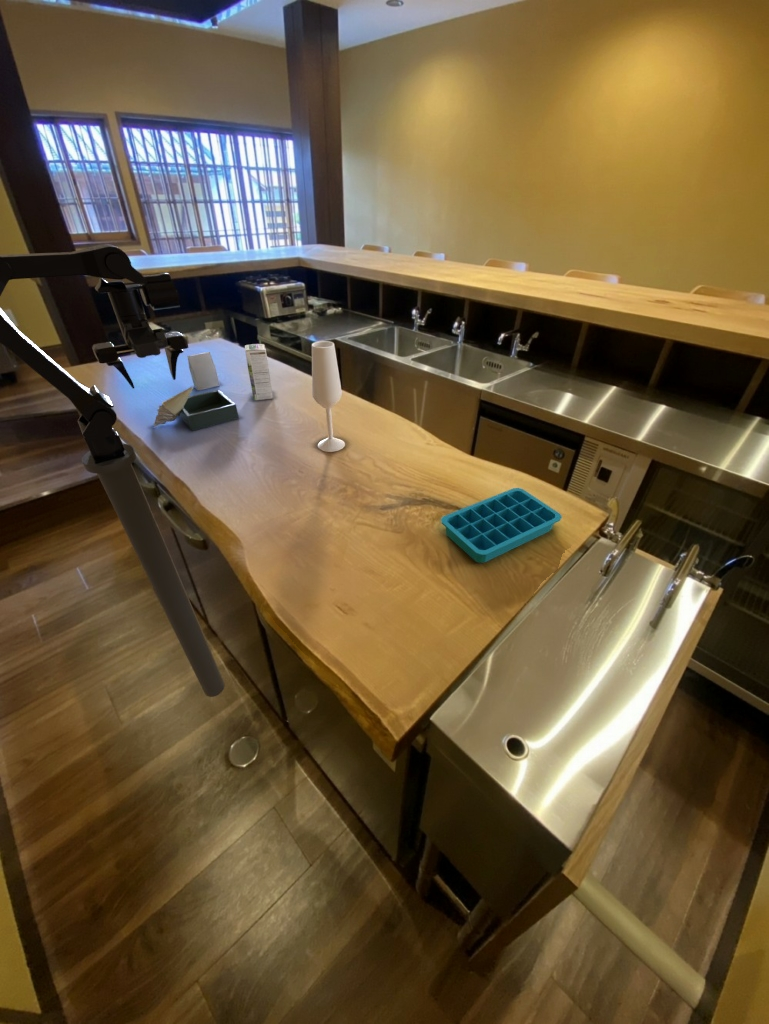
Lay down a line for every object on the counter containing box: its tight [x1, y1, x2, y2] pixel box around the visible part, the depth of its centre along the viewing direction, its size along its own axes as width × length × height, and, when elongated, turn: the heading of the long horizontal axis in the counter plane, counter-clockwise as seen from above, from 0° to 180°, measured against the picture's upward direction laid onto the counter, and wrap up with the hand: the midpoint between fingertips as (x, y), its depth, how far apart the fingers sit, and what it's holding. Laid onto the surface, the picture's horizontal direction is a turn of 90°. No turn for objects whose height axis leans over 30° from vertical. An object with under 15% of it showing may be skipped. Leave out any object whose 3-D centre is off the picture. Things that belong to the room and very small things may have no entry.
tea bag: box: [186, 351, 221, 391], centre depth 131 cm, size 4×7×10 cm, turn 129°
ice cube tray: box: [440, 487, 563, 564], centre depth 78 cm, size 12×20×3 cm, turn 121°
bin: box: [178, 389, 240, 432], centre depth 115 cm, size 13×13×4 cm
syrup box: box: [244, 343, 274, 401], centre depth 123 cm, size 6×6×14 cm
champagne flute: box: [311, 340, 346, 453], centre depth 97 cm, size 7×7×24 cm
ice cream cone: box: [152, 386, 194, 428], centre depth 111 cm, size 5×5×15 cm
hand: (154, 383), depth 101 cm, fingers open, 9 cm apart
